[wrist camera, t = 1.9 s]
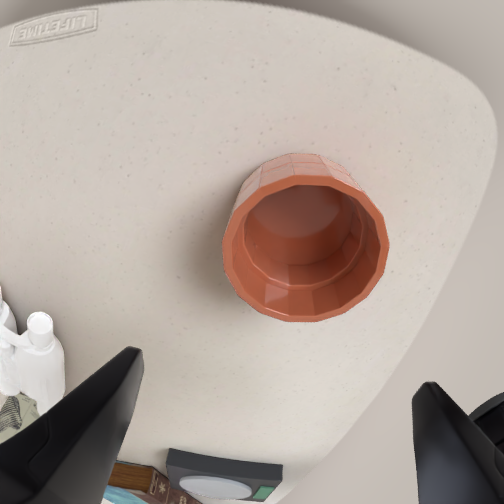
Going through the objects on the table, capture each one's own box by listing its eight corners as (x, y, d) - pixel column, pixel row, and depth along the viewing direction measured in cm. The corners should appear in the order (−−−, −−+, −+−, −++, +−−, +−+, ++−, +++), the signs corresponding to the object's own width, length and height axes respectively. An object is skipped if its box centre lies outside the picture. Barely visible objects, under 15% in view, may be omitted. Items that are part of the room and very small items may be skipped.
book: (207, 505, 47) (204, 526, 42) (134, 495, 50) (130, 512, 45) (154, 466, 36) (147, 494, 32) (72, 450, 39) (63, 471, 35)
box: (34, 398, 31) (-2, 470, 19) (48, 415, 33) (17, 484, 22) (11, 388, 31) (-25, 454, 20) (25, 406, 33) (-7, 469, 22)
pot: (385, 218, 16) (416, 260, 12) (295, 290, 19) (298, 343, 15) (303, 123, 14) (314, 136, 10) (209, 213, 17) (188, 255, 13)
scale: (282, 464, 32) (282, 485, 29) (264, 489, 38) (263, 505, 35) (169, 447, 32) (164, 468, 29) (173, 475, 37) (170, 491, 35)
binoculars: (5, 361, 27) (-12, 387, 23) (-13, 263, 20) (-45, 293, 16) (74, 403, 29) (59, 433, 25) (76, 318, 22) (48, 359, 17)
